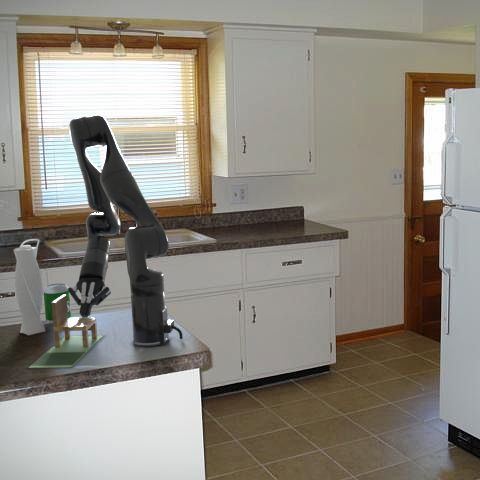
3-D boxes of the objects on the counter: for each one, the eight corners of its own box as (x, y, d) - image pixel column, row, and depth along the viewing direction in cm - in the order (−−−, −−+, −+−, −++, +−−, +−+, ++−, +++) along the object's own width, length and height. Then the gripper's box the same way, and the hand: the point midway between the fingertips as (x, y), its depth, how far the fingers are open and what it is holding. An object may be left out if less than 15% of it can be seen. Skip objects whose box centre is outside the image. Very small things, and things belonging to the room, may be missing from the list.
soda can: (63, 326, 224) (60, 288, 222) (41, 325, 225) (38, 287, 224) (76, 319, 231) (73, 283, 229) (54, 318, 233) (51, 282, 231)
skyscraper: (39, 326, 224) (32, 237, 219) (52, 331, 219) (45, 239, 214) (14, 332, 218) (6, 240, 213) (27, 337, 213) (19, 243, 209)
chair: (97, 337, 211) (94, 294, 209) (87, 347, 202) (84, 301, 200) (66, 338, 211) (63, 294, 209) (55, 347, 202) (51, 302, 200)
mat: (103, 336, 213) (103, 335, 213) (71, 367, 186) (71, 366, 186) (65, 336, 213) (65, 336, 213) (28, 368, 186) (28, 367, 186)
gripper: (69, 260, 221) (57, 310, 210) (112, 260, 220) (103, 309, 210) (76, 274, 227) (65, 323, 217) (118, 273, 227) (109, 322, 217)
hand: (84, 316), depth 214 cm, fingers closed
